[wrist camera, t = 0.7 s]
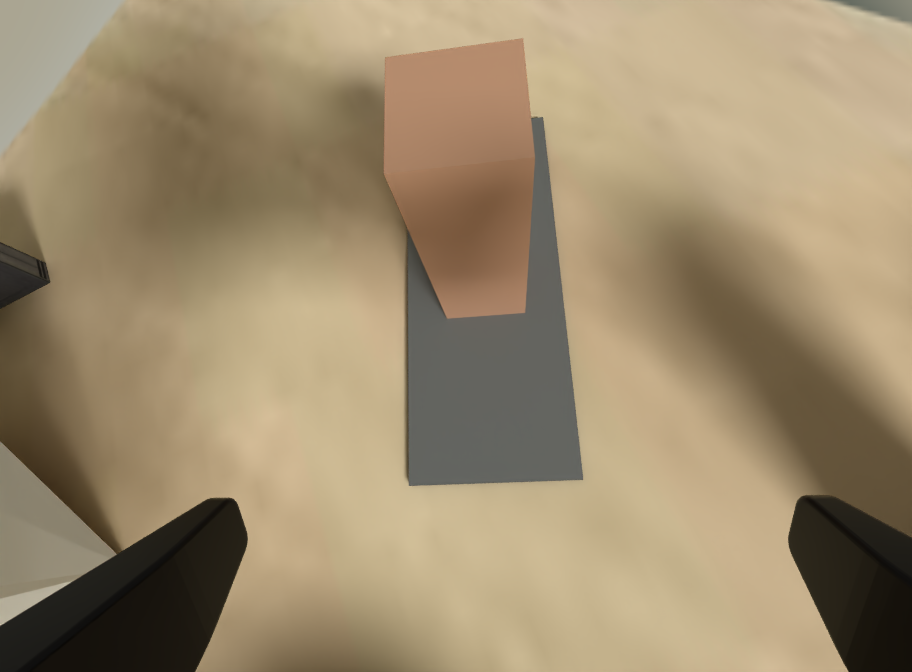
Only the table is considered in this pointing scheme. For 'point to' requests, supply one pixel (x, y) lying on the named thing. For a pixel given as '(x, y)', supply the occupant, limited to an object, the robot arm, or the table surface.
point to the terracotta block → (464, 170)
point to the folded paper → (38, 540)
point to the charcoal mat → (494, 373)
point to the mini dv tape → (19, 274)
